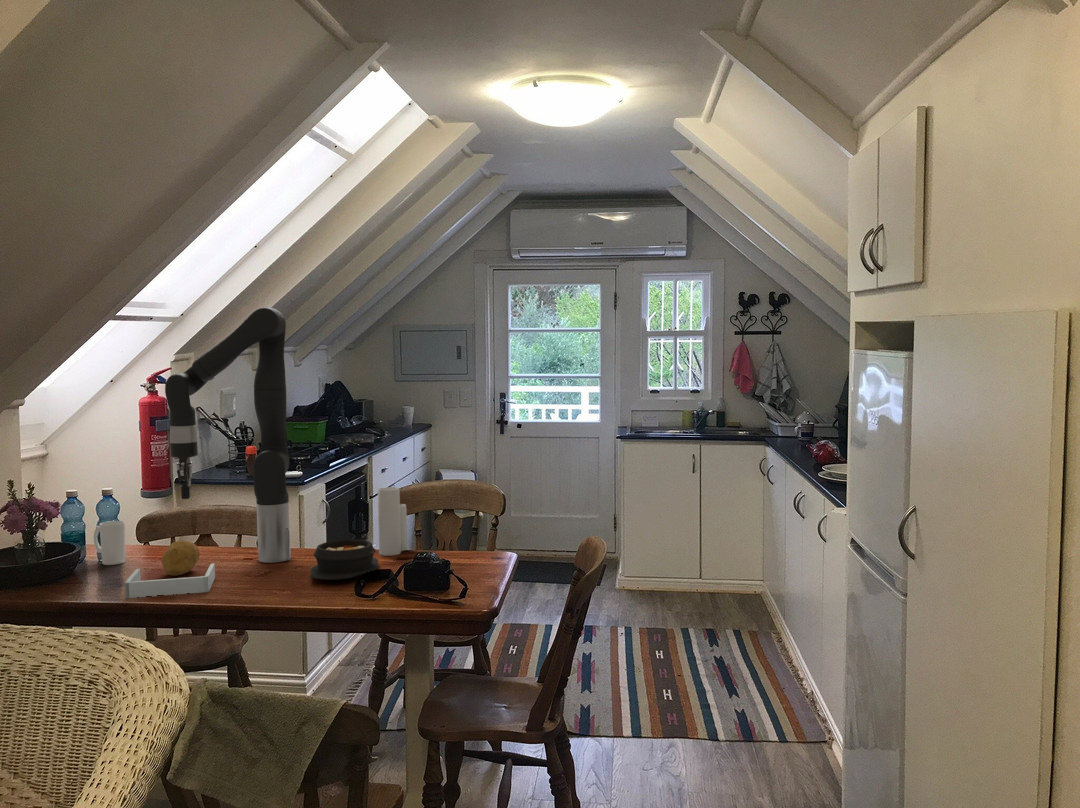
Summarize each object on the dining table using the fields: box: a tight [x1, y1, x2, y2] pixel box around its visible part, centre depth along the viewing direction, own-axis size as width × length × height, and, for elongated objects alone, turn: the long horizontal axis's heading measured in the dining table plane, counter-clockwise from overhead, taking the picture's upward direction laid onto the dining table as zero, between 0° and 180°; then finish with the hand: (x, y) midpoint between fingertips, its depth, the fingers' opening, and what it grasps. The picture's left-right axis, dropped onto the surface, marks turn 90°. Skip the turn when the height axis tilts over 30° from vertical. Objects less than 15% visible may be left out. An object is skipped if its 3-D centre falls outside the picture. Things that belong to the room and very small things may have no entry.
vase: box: [377, 486, 408, 557], centre depth 268 cm, size 11×7×20 cm, turn 169°
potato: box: [161, 540, 200, 577], centre depth 244 cm, size 10×13×9 cm
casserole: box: [309, 538, 380, 581], centre depth 241 cm, size 25×19×8 cm
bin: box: [124, 563, 216, 600], centre depth 230 cm, size 20×15×4 cm
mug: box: [93, 520, 126, 566], centre depth 259 cm, size 10×7×12 cm, turn 75°
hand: (185, 498), depth 258 cm, fingers closed
